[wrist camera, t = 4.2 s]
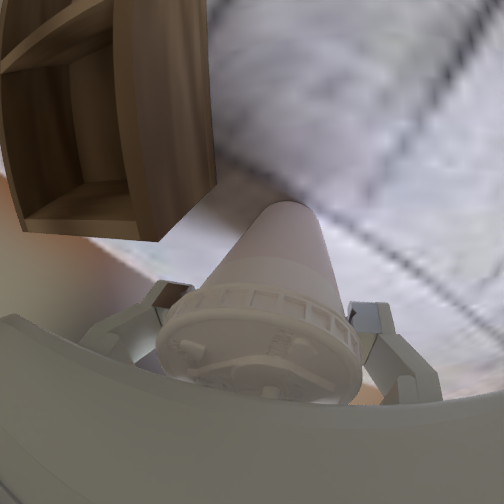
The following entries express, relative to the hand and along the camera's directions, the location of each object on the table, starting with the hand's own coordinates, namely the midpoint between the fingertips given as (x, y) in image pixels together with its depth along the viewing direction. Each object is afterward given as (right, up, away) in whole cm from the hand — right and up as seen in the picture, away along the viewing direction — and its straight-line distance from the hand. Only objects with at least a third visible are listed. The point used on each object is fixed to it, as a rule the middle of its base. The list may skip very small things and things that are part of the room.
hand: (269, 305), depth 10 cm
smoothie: (+1, +3, +5) cm, 6 cm away
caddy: (-8, +18, -2) cm, 20 cm away
